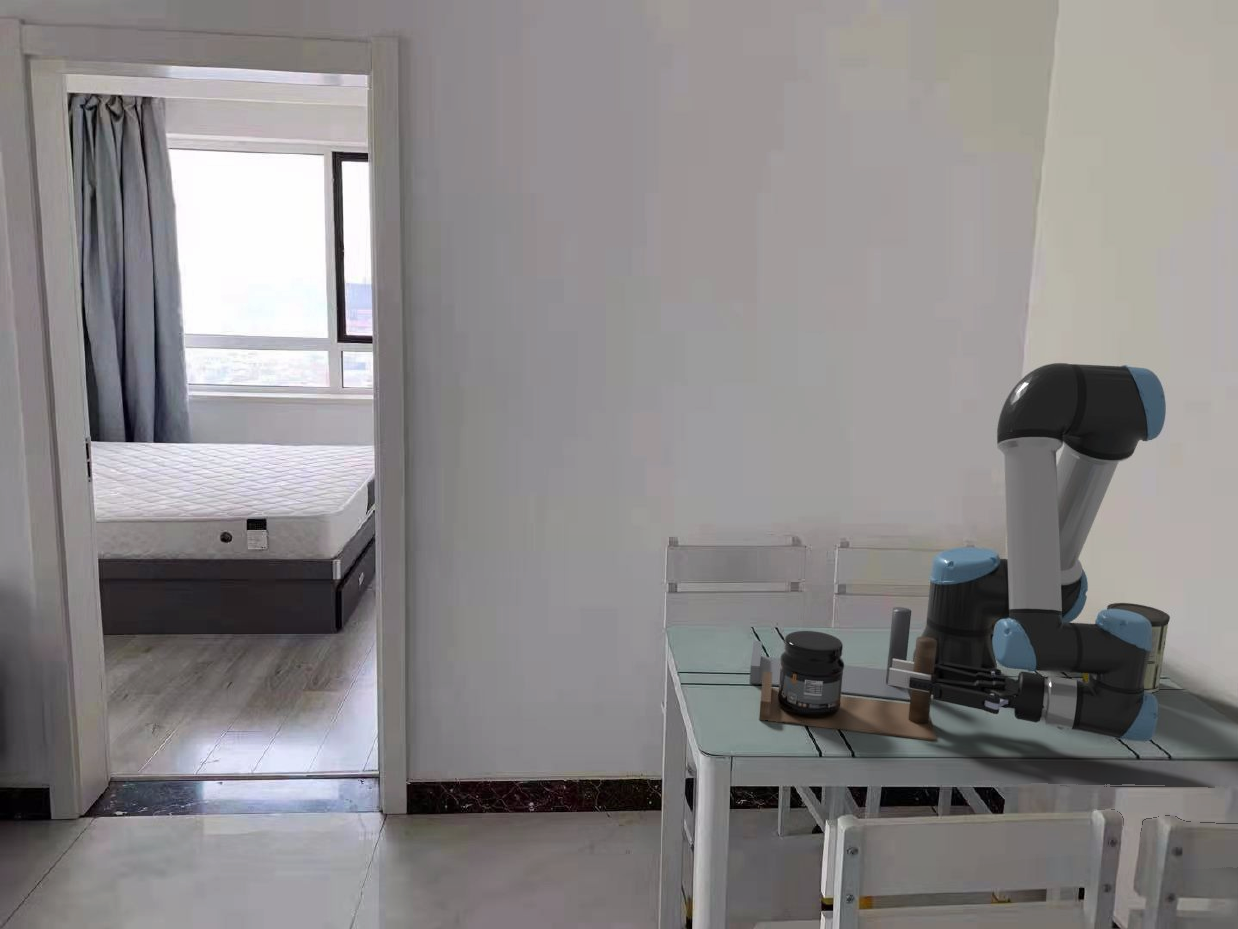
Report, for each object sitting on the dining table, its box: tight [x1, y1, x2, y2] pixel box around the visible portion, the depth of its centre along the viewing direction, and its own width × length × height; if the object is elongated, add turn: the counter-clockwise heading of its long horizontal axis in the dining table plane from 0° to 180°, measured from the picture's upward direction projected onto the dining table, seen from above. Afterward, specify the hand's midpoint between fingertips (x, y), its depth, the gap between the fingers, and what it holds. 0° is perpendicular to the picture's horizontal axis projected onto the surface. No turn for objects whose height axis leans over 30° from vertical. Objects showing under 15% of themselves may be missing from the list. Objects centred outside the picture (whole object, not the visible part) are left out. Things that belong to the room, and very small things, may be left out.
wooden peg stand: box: [758, 636, 937, 742], centre depth 157 cm, size 28×13×14 cm, turn 79°
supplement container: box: [778, 630, 845, 719], centre depth 159 cm, size 10×10×12 cm
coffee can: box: [1106, 602, 1171, 694], centre depth 176 cm, size 10×10×14 cm
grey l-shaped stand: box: [749, 606, 912, 702], centre depth 172 cm, size 28×13×14 cm, turn 79°
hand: (890, 671), depth 157 cm, fingers open, 4 cm apart
